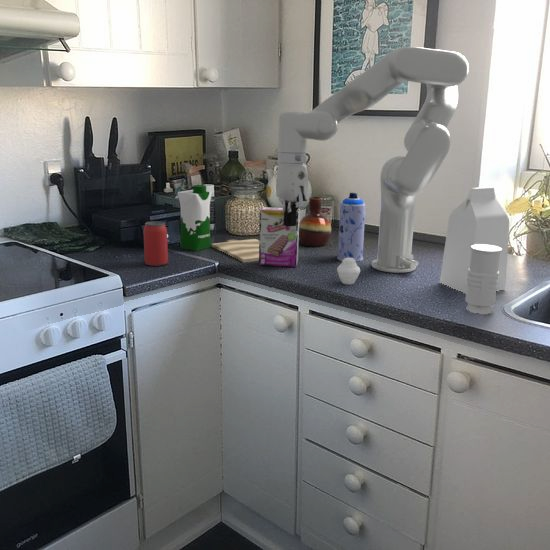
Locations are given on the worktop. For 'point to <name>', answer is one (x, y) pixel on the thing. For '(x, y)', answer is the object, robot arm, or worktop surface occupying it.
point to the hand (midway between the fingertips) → (290, 225)
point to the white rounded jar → (348, 271)
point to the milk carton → (195, 218)
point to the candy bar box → (277, 239)
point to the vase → (314, 225)
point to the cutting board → (240, 249)
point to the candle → (482, 278)
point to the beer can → (155, 243)
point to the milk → (474, 237)
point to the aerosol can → (351, 228)
